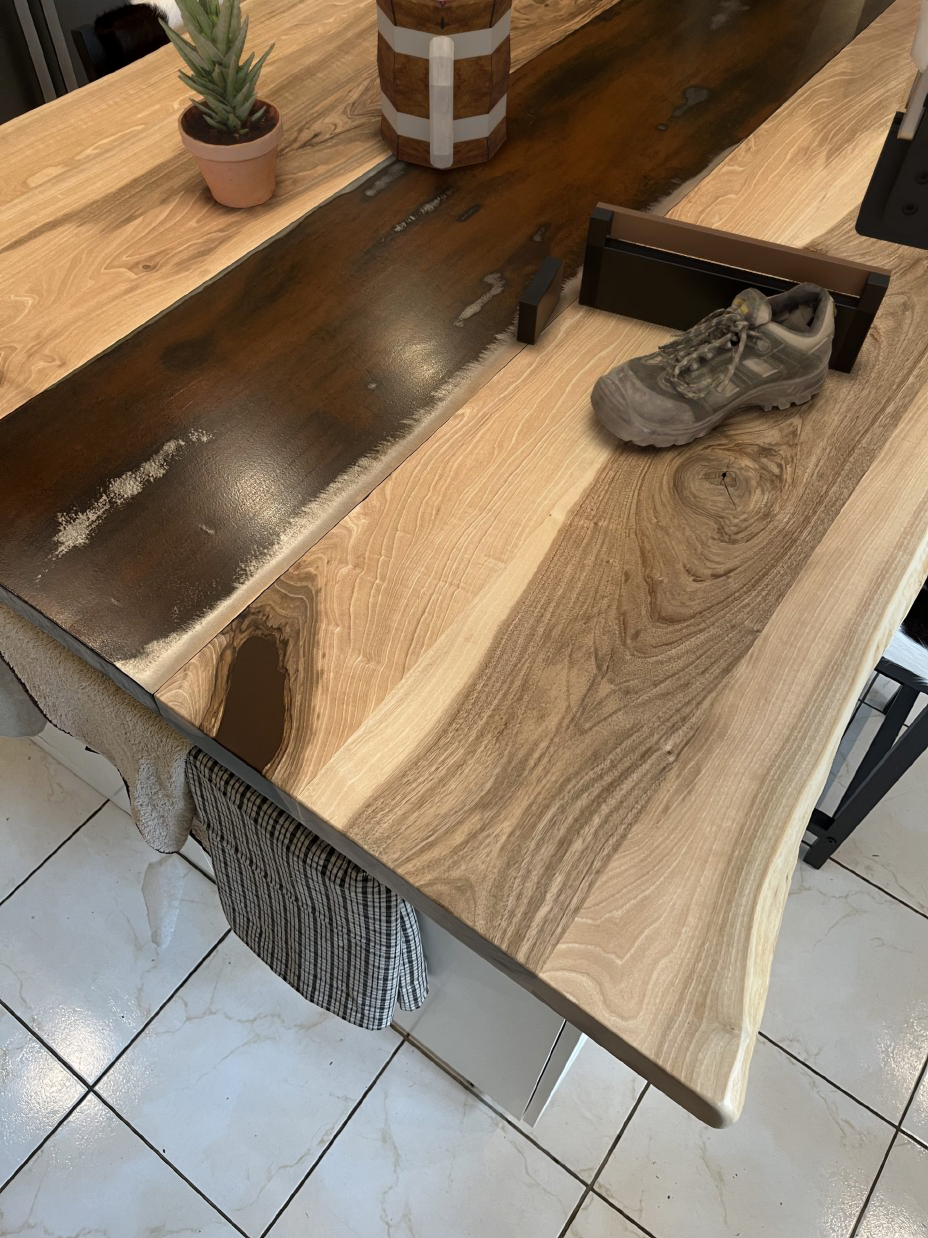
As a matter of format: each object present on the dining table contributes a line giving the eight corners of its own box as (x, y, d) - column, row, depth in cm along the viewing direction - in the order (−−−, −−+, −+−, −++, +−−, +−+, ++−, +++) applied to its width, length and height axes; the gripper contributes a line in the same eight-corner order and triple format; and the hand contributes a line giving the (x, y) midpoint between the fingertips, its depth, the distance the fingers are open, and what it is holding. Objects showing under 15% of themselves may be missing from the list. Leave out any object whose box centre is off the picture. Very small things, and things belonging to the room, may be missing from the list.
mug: (384, 103, 104) (376, -55, 92) (505, 106, 104) (514, -51, 92) (372, 201, 93) (362, 36, 80) (509, 204, 93) (519, 40, 81)
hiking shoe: (557, 367, 75) (627, 295, 64) (765, 326, 82) (861, 254, 71) (593, 476, 75) (670, 422, 63) (799, 425, 82) (901, 368, 71)
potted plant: (213, 228, 90) (147, -78, 69) (181, 180, 94) (110, -120, 74) (310, 202, 92) (274, -100, 72) (274, 157, 97) (230, -138, 77)
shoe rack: (854, 356, 80) (892, 269, 73) (836, 427, 75) (876, 340, 68) (551, 279, 86) (561, 192, 79) (516, 340, 81) (523, 252, 74)
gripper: (1444, -433, 17) (980, 372, 32) (1338, -510, 25) (1008, 160, 40) (1011, -462, 19) (761, 318, 34) (1043, -526, 27) (831, 124, 42)
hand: (896, 230), depth 37 cm, fingers closed
